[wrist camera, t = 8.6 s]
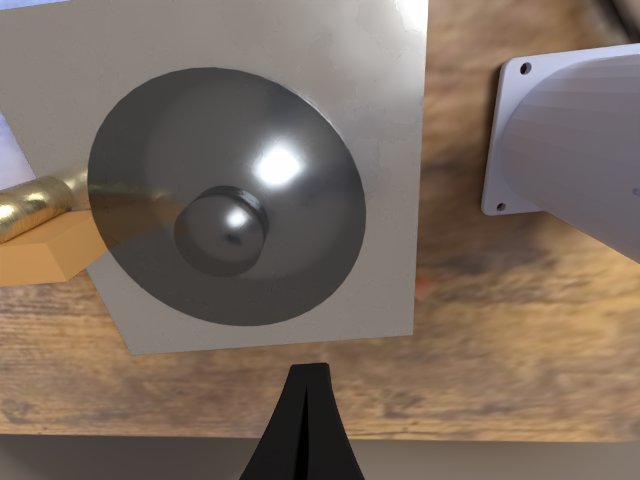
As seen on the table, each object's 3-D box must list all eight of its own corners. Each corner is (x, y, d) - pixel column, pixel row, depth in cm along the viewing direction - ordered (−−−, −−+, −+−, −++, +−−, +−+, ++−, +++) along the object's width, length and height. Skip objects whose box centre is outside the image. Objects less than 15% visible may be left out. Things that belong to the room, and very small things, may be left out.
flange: (358, 52, 13) (372, 39, 10) (366, 305, 20) (376, 356, 16) (-30, 94, 14) (-153, 98, 10) (97, 324, 20) (48, 376, 17)
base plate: (419, -36, 13) (477, -108, 8) (407, 319, 22) (431, 386, 17) (-25, 24, 14) (-208, -7, 9) (136, 340, 23) (87, 408, 18)
